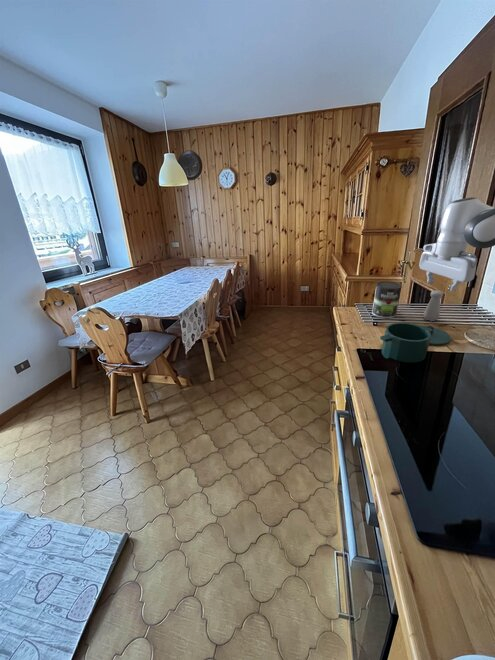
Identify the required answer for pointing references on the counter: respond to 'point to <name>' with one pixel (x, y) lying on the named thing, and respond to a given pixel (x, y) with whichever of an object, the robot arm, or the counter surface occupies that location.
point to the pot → (406, 342)
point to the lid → (438, 336)
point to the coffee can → (386, 299)
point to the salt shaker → (433, 306)
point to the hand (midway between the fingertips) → (440, 286)
